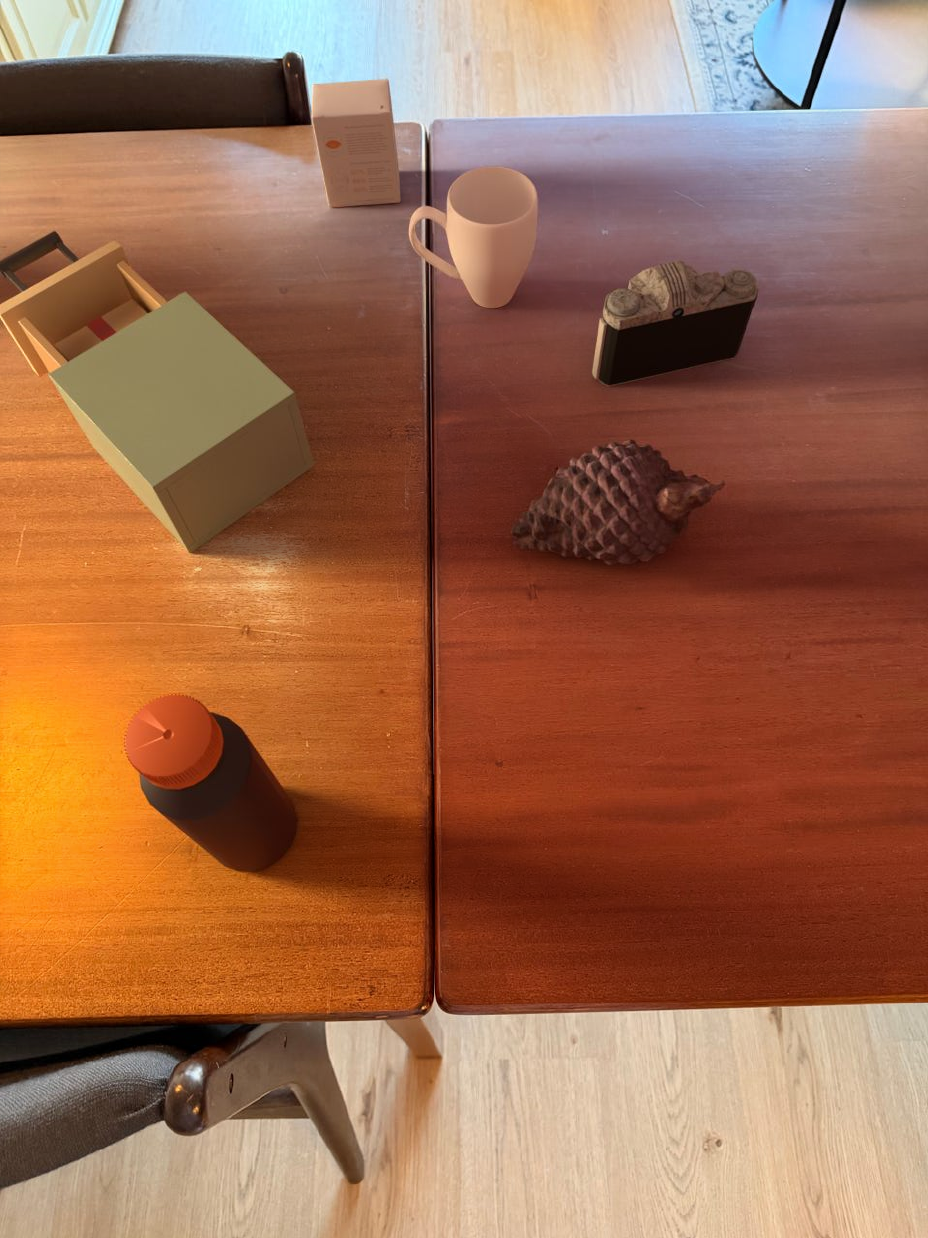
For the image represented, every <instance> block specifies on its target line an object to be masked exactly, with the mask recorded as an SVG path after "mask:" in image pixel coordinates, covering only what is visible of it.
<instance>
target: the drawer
mask: <svg viewBox="0 0 928 1238" xmlns="http://www.w3.org/2000/svg"><path fill="white" fill-rule="evenodd" d="M56 250H58V251H59V252H60V253H61V254H63V256H65V257H66V258H67V259H68V260H69V261H70V263H71V264H69V265H67V266H66V267H64V268H62V269H61V270H58V271H57V272H54V274H51V275H50V276H48V277H46V278H44V279H43V280H40V281H39V282H37V283H35V284H34V285H32V286H30V287H27V286H26V285H25V283H23V281H22V280H21V279H20V278H19V277H18V276H17V275H16V274H15V273H17V272H18V271H20V270H21V269H22V270H23V268H25V267H27V266H28V265H30V264H32V263H34V262H36V261H38V260H40V259H41V258H43V257H45V256H46V255H48V254H51V253H52V252H53V251H56ZM0 276H1V277H2V278H3V279H6V278H7V279H8V280H9V281H10V282H11V283H12V284H13V286H15V287H16V289H18V290H19V291H20V293H18V294H16V295H14V296H13V297H10V298H9V299H7V300H5V301H4V302H2V303H1V304H0V320H1V322H2V323H3V324H4V326H5V328H6V329H7V331H8V333H9V334H10V336H11V337H12V339H13V340H14V342H15V344H16V345H17V347H18V348H19V350H20V351H21V353H22V354H23V356H24V358H25V360H26V361H27V362H28V364H29V366H30V367H31V369H32V370H33V371H34V372H35V374H36V375H37V376H38V377H39V378H40V377H42V376H44V375H46V374H48V373H51V372H52V371H54V370H56V369H57V368H59V367H61V366H62V365H64V364H66V363H67V362H68V361H67V360H66V359H65V358H64V357H63V356H62V355H61V354H60V353H59V351H58V350H57V349H56V348H55V346H54V345H55V344H56V343H58V342H60V341H61V340H63V339H65V338H67V337H68V336H70V335H72V334H73V333H75V332H77V331H78V330H80V329H82V328H83V327H85V326H86V325H87V324H89V323H91V322H92V321H94V320H96V319H97V318H99V317H102V316H104V315H105V314H107V313H109V312H110V311H112V310H114V309H115V308H117V307H119V306H120V305H122V304H124V303H126V302H127V301H129V300H131V299H134V300H135V301H136V302H137V303H138V304H139V305H140V306H141V307H142V308H143V309H144V310H145V311H146V312H147V313H148V314H149V313H150V312H152V311H154V310H155V309H157V308H159V307H160V306H162V305H164V304H165V303H167V302H168V301H167V299H166V298H164V297H163V296H162V294H160V293H159V292H158V291H157V290H156V289H155V288H154V287H153V286H151V284H149V283H148V282H147V281H146V279H144V278H143V277H142V276H141V275H140V274H139V273H138V272H137V271H136V270H135V269H133V267H132V266H131V264H130V262H129V259H128V257H127V255H126V252H125V250H124V248H123V246H122V245H121V244H120V243H119V242H118V241H117V240H116V239H113V240H111V241H110V242H108V243H105V245H103V246H101V247H99V248H97V249H95V250H93V251H92V252H90V253H89V254H87V255H85V256H82V258H79V257H78V256H77V255H76V254H75V253H73V251H72V250H71V249H70V248H68V246H67V245H66V244H64V241H63V239H62V238H61V236H60V235H59V234H58V232H57V231H56V230H53V231H51V232H50V233H48V234H46V235H44V236H42V237H40V238H39V239H37V240H35V241H33V242H32V243H31V242H30V244H28V245H26V246H24V247H23V248H20V249H19V250H17V251H15V252H13V253H11V254H10V255H8V256H6V257H4V258H3V259H1V260H0Z"/></svg>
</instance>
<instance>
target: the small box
mask: <svg viewBox="0 0 928 1238" xmlns="http://www.w3.org/2000/svg"><path fill="white" fill-rule="evenodd" d="M390 87H391V86H390V81H389V78H381V79H380V78H379V79H366V80H354V81H353V80H352V81H340V82H339V81H338V82H327V83H326V82H325V83H314V84H312V91H311V92H312V93H311V94H312V95H311V124H312V127H313V133H314V138H315V143H316V148H317V154H318V159H319V164H320V170H321V174H322V179H323V185H324V190H325V194H326V200H327V205H328V207H329V208H342V207H358V206H369V205H382V204H384V205H385V204H398V203H401V183H400V182H401V181H400V166H399V165H400V164H399V158H398V147H397V139H396V129H395V123H394V121H395V120H394V112H393V103H392V95H391V88H390Z"/></svg>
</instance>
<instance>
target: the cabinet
mask: <svg viewBox="0 0 928 1238" xmlns="http://www.w3.org/2000/svg"><path fill="white" fill-rule="evenodd" d="M47 374H48V377H49V378H50V380H51V381H52V383H53V385H54V386H55V388H56V390H57V392H58V393H59V394H60V396H61V397H62V399H63V401H64V402H65V404H66V405H67V407H68V409H69V411H70V413H71V414H72V415H73V417H74V418H75V420H76V422H77V423H78V425H79V426H80V429H81V430H82V431H83V433H84V435H85V436H86V438H87V440H88V441H89V443H90V444H91V446H92V448H93V449H94V450H95V451H96V453H98V454H99V455H100V457H101V458H102V459H103V460H104V461H105V462H106V463H107V465H109V467H110V468H111V469H112V470H113V471H114V472H115V473H116V474H117V475H118V476H119V478H120V479H121V480H122V481H123V482H124V483H125V485H127V487H128V488H129V489H130V490H131V491H132V492H133V493H134V494H135V495H136V496H137V497H138V499H139V500H140V501H141V502H142V503H143V504H144V505H145V507H146V508H148V510H149V511H150V512H151V513H152V514H153V515H154V516H155V517H156V518H157V520H159V522H160V523H161V524H162V525H163V526H164V528H166V529H167V530H168V531H169V533H170V534H171V535H172V536H173V537H174V539H176V540H177V541H178V543H179V544H180V545H181V546H182V547H183V548H184V549H185V550H186V552H187V553H189V554H191V553H193V552H194V551H196V550H197V549H199V548H200V547H202V546H203V545H205V544H206V543H207V542H209V541H210V540H211V539H212V538H214V537H216V536H217V535H218V534H220V533H221V532H223V531H224V530H225V529H227V528H228V527H229V526H231V525H232V524H234V523H235V522H236V521H238V520H239V519H241V518H242V517H244V516H245V515H247V514H248V513H249V512H251V511H253V510H254V509H255V508H257V507H258V506H260V505H261V504H262V503H264V502H265V501H266V500H268V499H269V498H271V497H272V496H274V495H275V494H276V493H278V492H279V491H281V490H282V489H283V488H285V487H286V486H288V485H289V484H290V483H292V482H293V481H295V480H296V479H298V478H299V477H300V476H302V475H304V474H305V473H306V472H307V471H309V470H311V469H312V468H313V467H315V466H316V464H315V461H314V457H313V453H312V450H311V446H310V443H309V439H308V436H307V432H306V429H305V425H304V422H303V418H302V414H301V411H300V407H299V404H298V400H297V396H296V393H295V391H294V390H293V389H292V388H291V387H290V386H288V385H287V384H286V382H284V380H282V379H281V378H280V377H279V376H278V375H277V374H275V372H273V371H272V370H271V369H270V368H269V367H268V366H267V365H266V364H265V363H264V362H263V361H262V360H261V359H259V358H258V356H256V355H255V354H254V353H253V352H252V351H250V349H248V348H247V346H245V345H244V344H243V343H242V342H241V341H240V340H239V339H237V337H235V336H234V335H233V333H231V332H230V331H229V330H228V329H227V328H226V327H225V326H223V325H222V324H221V323H220V322H219V320H218V319H216V318H215V317H214V315H213V316H212V314H211V313H210V312H209V311H207V310H206V309H205V308H204V307H203V306H202V305H201V304H199V302H197V300H195V299H194V298H193V297H192V296H191V295H190V294H189V293H188V292H187V291H184V292H182V293H180V294H178V295H177V296H175V297H173V298H172V299H170V300H169V301H167V303H165V304H164V305H162V306H160V307H159V308H157V309H155V310H154V311H152V312H150V313H149V314H147V315H145V316H144V317H142V318H140V319H139V320H137V321H135V322H134V323H132V324H130V325H129V326H127V327H125V328H124V329H122V330H120V331H119V332H117V333H115V334H114V335H112V336H110V337H109V338H107V339H105V340H104V341H102V342H100V343H99V344H97V345H95V346H94V347H92V348H91V349H89V350H87V351H86V352H84V353H82V354H81V355H79V356H77V357H76V358H74V359H72V360H71V361H69V362H67V363H66V364H64V365H62V366H61V367H59V368H57V369H56V370H54V371H52V372H51V373H50V372H48V373H47Z"/></svg>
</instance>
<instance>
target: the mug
mask: <svg viewBox="0 0 928 1238" xmlns="http://www.w3.org/2000/svg"><path fill="white" fill-rule="evenodd" d="M538 197H539V196H538V191H537V189H536V187H535V185H534V183H533V182H532V181H531V180H530V179H529V178H528V176H526V175H525V174H523V173H521V172H520V171H518V170H515V169H512V168H510V167H505V166H496V165H493V166H492V165H489V166H482V167H476V168H473V169H471V170H468V171H466V172H464V173H463V174H461V175H460V176H458V177H457V178H456V179H455V180H454V181H453V182H452V184H451V185H450V187H449V189H448V192H447V196H446V213H444V212H443V211H441V210H439V209H437V208H435V207H432V206H430V205H423V206H420V207H418V208H417V209H416V210H415V211H414V212H413V213H412V215H411V217H410V220H409V223H408V224H409V225H408V237H409V241H410V243H411V246H412V248H413V250H414V251H415V253H416V254H417V255H418V256H419V257H420V258H422V259H423V260H424V261H425V262H427V263H428V264H429V265H431V266H432V267H434V268H435V269H437V270H438V271H440V272H442V273H443V274H445V275H446V276H448V277H450V278H452V279H456V280H462V282H463V285H464V286H465V288H466V290H467V292H468V293H469V296H470V297H471V299H472V301H473V302H474V303H475V304H477V305H478V306H480V307H481V308H482V307H483V308H485V309H497V308H501V307H503V306H505V305H507V304H508V303H510V301H511V300H512V298H513V297H514V295H515V292H516V291H517V289H518V287H519V285H520V283H521V282H522V280H523V277H524V276H525V273H526V271H527V269H528V268H529V265H530V263H531V260H532V257H533V255H534V252H535V246H536V240H537V226H538V210H539V208H538V207H539V198H538ZM425 219H426V220H431V221H433V222H435V223H436V224H438V225H439V226H441V228H443V229H444V230H445V234H446V237H447V244H448V248H449V252H450V256H451V258H452V260H453V263H454V265H452V264H450V263H448V262H447V261H446V260H444V259H442V258H440V257H439V256H438V255H436V254H435V253H433V252H432V251H430V250H429V249H428V248H427V247H425V245H424V244H422V242H421V241H420V240H419V238H418V237H417V234H416V225H417V224H418V223H419V222H421V221H422V220H425Z"/></svg>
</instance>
